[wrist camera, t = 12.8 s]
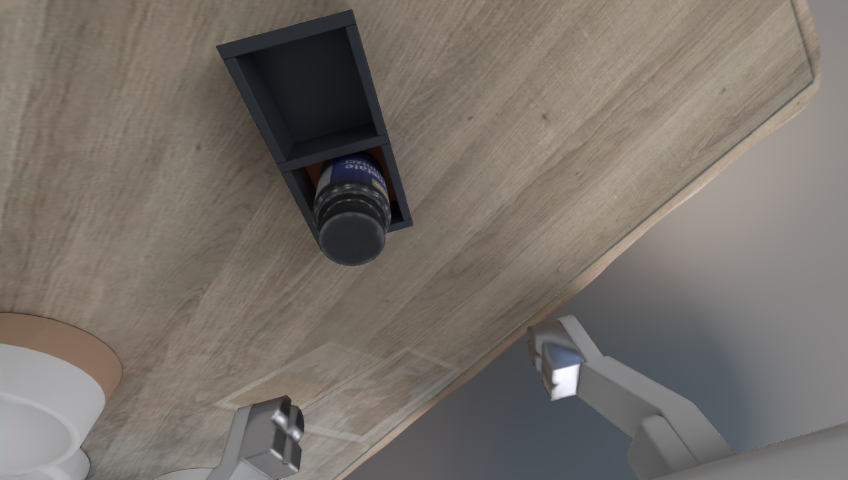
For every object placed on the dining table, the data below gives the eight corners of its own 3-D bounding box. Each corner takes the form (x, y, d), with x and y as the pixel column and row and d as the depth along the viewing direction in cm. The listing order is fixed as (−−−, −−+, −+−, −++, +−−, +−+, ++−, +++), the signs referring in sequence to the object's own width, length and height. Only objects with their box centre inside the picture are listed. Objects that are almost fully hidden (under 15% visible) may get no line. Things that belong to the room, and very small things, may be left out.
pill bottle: (395, 166, 33) (412, 225, 24) (366, 214, 35) (371, 284, 26) (336, 134, 30) (330, 187, 21) (309, 189, 32) (293, 257, 23)
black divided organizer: (237, 40, 25) (215, 46, 21) (352, 9, 26) (352, 9, 21) (325, 224, 36) (321, 251, 32) (406, 200, 36) (413, 225, 32)
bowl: (-124, 343, 34) (-241, 425, 27) (32, 290, 34) (-48, 360, 27) (35, 418, 44) (-22, 491, 38) (156, 378, 44) (120, 444, 37)
